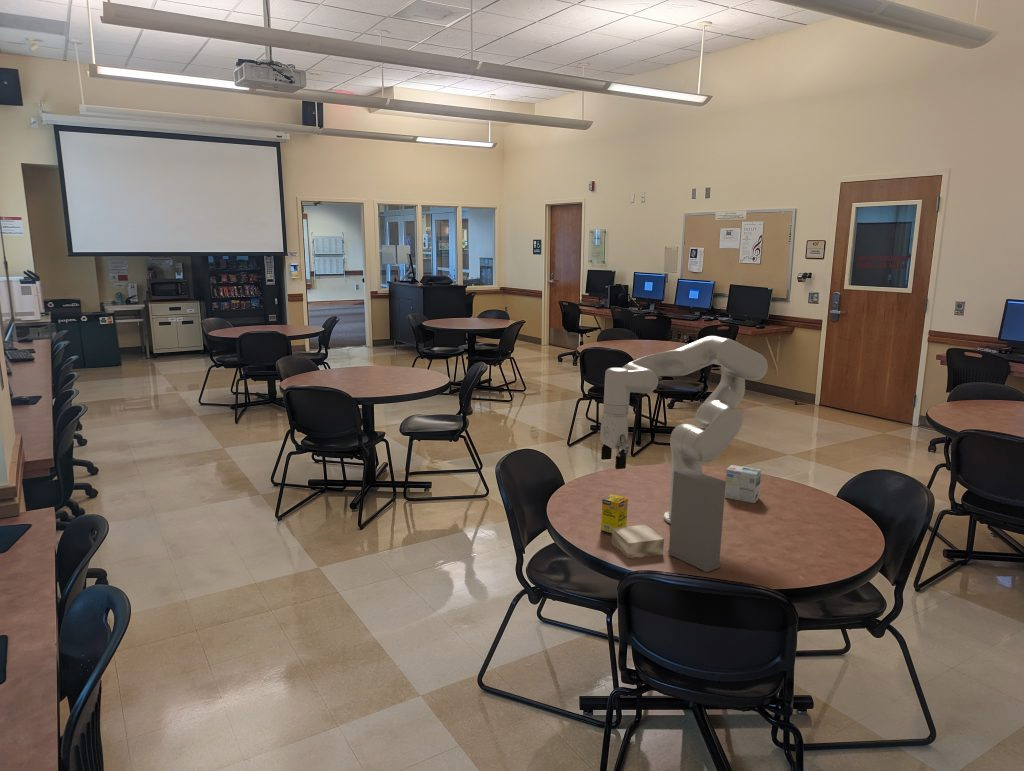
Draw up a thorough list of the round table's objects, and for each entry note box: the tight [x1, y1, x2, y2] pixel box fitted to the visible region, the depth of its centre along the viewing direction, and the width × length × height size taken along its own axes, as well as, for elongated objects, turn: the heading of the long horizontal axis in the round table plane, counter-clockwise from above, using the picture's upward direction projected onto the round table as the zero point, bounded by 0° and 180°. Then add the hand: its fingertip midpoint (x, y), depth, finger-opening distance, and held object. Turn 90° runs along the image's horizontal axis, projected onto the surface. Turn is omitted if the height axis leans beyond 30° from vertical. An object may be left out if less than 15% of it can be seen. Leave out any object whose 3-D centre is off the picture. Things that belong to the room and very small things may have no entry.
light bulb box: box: [724, 464, 762, 504], centre depth 243 cm, size 11×7×11 cm, turn 58°
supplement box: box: [600, 493, 629, 536], centre depth 212 cm, size 6×6×11 cm
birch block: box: [611, 524, 665, 559], centre depth 201 cm, size 11×11×5 cm
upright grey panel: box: [667, 468, 726, 573], centre depth 192 cm, size 14×6×25 cm, turn 35°
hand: (613, 463), depth 210 cm, fingers open, 9 cm apart
